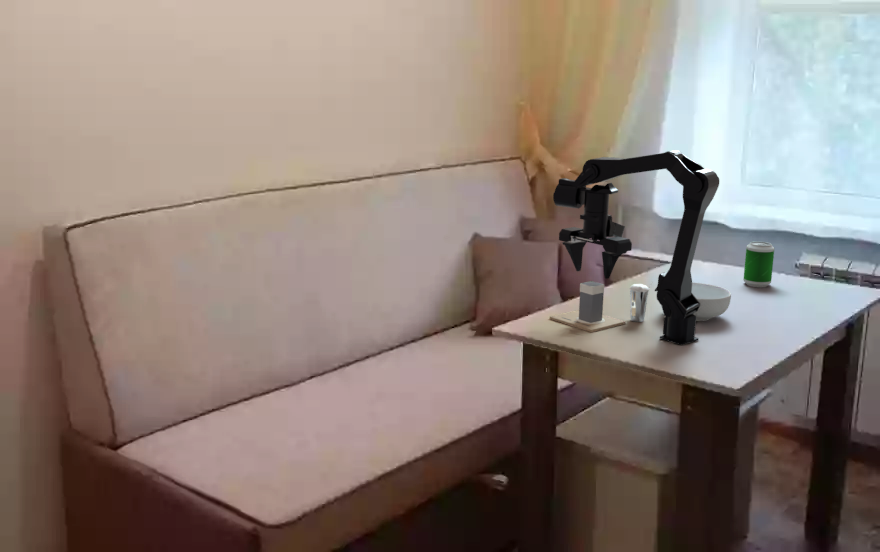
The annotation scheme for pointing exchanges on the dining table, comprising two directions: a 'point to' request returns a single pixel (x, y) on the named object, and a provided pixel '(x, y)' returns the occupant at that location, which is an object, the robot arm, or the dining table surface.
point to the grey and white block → (591, 301)
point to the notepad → (574, 320)
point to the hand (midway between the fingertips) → (592, 274)
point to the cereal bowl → (710, 300)
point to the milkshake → (638, 302)
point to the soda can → (758, 264)
